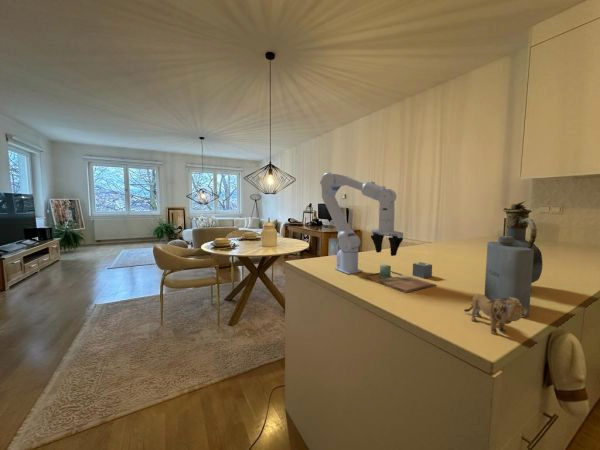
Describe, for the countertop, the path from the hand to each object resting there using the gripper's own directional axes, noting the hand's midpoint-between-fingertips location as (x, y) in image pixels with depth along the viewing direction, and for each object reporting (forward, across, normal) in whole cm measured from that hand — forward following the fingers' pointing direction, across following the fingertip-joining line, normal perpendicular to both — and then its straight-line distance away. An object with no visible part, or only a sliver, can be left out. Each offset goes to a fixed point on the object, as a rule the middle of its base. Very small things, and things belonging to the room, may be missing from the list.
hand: (385, 253), depth 98 cm
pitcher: (+10, +31, +28) cm, 43 cm away
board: (+9, +6, 0) cm, 11 cm away
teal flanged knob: (+10, 0, 0) cm, 10 cm away
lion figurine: (+10, +41, -9) cm, 43 cm away
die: (+10, +6, +14) cm, 18 cm away
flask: (+10, +36, +8) cm, 38 cm away
